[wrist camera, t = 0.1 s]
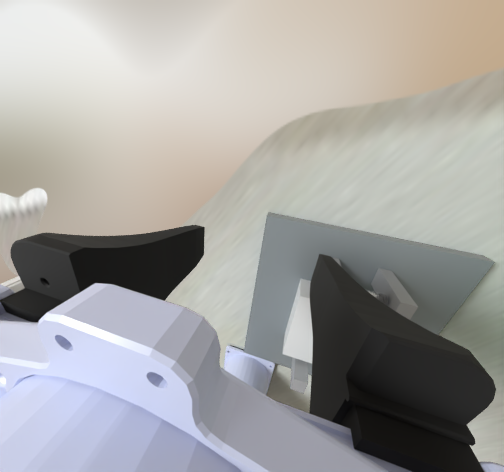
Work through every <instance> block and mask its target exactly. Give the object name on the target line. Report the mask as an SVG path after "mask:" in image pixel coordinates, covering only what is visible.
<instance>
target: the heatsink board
mask: <svg viewBox="0 0 504 472" xmlns="http://www.w3.org/2000/svg"><path fill="white" fill-rule="evenodd" d="M319 254H323V255H328V256H331V257H332V258H333V259H334V260H335V261H336V262H337V263H338V264H339V265H340V266H341V267H342V268H343V269H344V270H345V271H346V272H347V273H348V274H349V275H350V276H351V277H352V278H353V279H354V280H355V281H356V282H357V283H358V284H359V285H361V286H362V287H363V288H364V289H365V290H369V291H373V292H377V293H381V294H385V295H387V297H388V303H387V306H388V307H390V308H391V309H393V310H394V311H396V312H398V313H399V314H401V315H402V316H404V317H406V318H407V319H409V320H411V321H413V322H414V323H416V324H418V325H420V326H422V327H423V328H425V329H427V330H429V331H431V332H433V333H435V334H437V335H438V334H439V333H440V332H441V331H442V329H443V328H444V327H445V325H446V324H447V323H448V322H449V320H450V319H451V318H452V316H453V315H454V314H455V313H456V311H457V310H458V309H459V308H460V306H461V305H462V304H463V302H464V301H465V300H466V299H467V297H468V296H469V295H470V293H471V292H472V291H473V290H474V288H475V287H476V286H477V284H478V283H479V282H480V281H481V279H482V278H483V277H484V275H485V274H486V273H487V272H488V270H489V269H490V268H491V266H492V265H493V264H494V263H495V262H493V261H492V260H490V259H488V258H486V257H485V256H482V255H477V254H472V253H467V252H462V251H458V250H453V249H448V248H443V247H438V246H433V245H428V244H423V243H418V242H413V241H408V240H403V239H398V238H393V237H388V236H383V235H378V234H373V233H368V232H363V231H358V230H353V229H348V228H344V227H339V226H334V225H329V224H324V223H319V222H314V221H309V220H304V219H299V218H294V217H289V216H284V215H279V214H274V213H268V215H267V218H266V224H265V230H264V236H263V242H262V248H261V254H260V260H259V265H258V271H257V277H256V283H255V289H254V295H253V301H252V307H251V313H250V318H249V324H248V330H247V336H246V342H245V348H244V353H247V354H250V355H253V356H256V357H259V358H262V359H264V360H267V361H270V362H273V363H276V364H279V365H282V366H285V367H288V368H291V384H290V389H292V390H294V391H297V392H300V393H303V394H304V391H305V389H306V387H307V384H308V375H311V376H312V356H313V331H312V320H311V309H310V282H311V279H312V276H313V273H314V269H315V266H316V263H317V260H318V257H319Z"/></svg>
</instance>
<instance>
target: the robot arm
mask: <svg viewBox="0 0 504 472" xmlns="http://www.w3.org/2000/svg"><path fill="white" fill-rule="evenodd" d="M203 255H204V227H202V226H197V225H191V226H184V227H179V228H174V229H169V230H164V231H158V232H152V233H146V234H137V235H124V236H80V235H67V234H55V233H41V234H37V235H34V236H31V237H27V238H24V239H21V240H18V241H15V242H14V244H13V245H12V247H11V258H12V261H13V264H14V266H15V268H16V270H17V272H18V275H19V277H20V279H21V281H22V283H23V285H24V287H25V288H24V289H22V290H20V291H18V292H16V293H15V292H14V291H13V290H12V289H10V288H9V287H6V286H3V285H1V284H0V472H504V466H503V465H500V464H497V463H493V462H478V460H477V458H476V456H475V455H474V453H473V451H472V449H471V447H470V446H469V445H471V446H473V445H474V444H475V439H474V437H473V435H472V434H471V432H470V430H469V429H468V427H467V424H468V423H469V422H470V421H471V420H473V419H474V418H475V417H476V416H477V415H479V414H480V413H481V412H482V411H483V410H485V409H486V408H487V407H488V406H489V404H490V403H491V402H492V401H493V399H494V395H495V391H496V388H495V385H494V381H493V379H492V378H491V377H490V376H489V374H488V373H487V372H486V371H485V369H484V368H483V367H482V366H481V364H480V363H479V362H478V361H477V360H476V358H475V357H474V356H473V355H472V353H471V352H470V351H469V350H467V349H465V348H463V347H461V346H459V345H457V344H455V343H453V342H451V341H449V340H447V339H445V338H443V337H441V336H439V335H437V334H435V333H433V332H431V331H429V330H427V329H425V328H423V327H422V326H420V325H418V324H416V323H414V322H413V321H411V320H409V319H407V318H406V317H404V316H402V315H401V314H399V313H398V312H396V311H394V310H393V309H391V308H390V307H388V306H387V305H385V304H384V303H382V302H381V301H380V300H378V299H377V298H376V297H374V296H373V295H372V294H370V293H369V292H368V291H366V290H365V289H364V288H363V287H362V286H361V285H359V284H358V283H357V282H356V281H355V280H354V279H353V278H352V277H351V276H350V275H349V274H348V273H347V272H346V271H345V270H344V269H343V268H342V267H341V266H340V265H339V264H338V263H337V262H336V261H335V260H334V259H333V258H332V257H331V256H328V255H323V254H319V257H318V260H317V263H316V266H315V269H314V273H313V276H312V279H311V282H310V309H311V320H312V331H313V356H312V382H311V401H310V414H309V413H307V412H304V411H301V410H299V409H296V408H293V407H291V406H288V405H286V404H283V403H280V402H278V401H275V400H272V399H271V398H269V397H268V396H266V395H267V391H268V388H269V384H270V381H271V377H272V374H273V370H274V367H275V363H273V362H270V361H267V360H264V359H262V358H259V357H256V356H253V355H250V354H247V353H244V350H241V349H238V348H235V347H232V346H227V348H226V354H225V363H224V369H222V368H221V367H220V365H219V359H220V344H219V340H218V336H217V333H216V331H215V329H214V328H213V327H212V326H211V325H210V324H209V322H208V321H207V320H206V319H205V318H204V317H203V316H201V315H199V314H198V313H196V312H194V311H192V310H190V309H188V308H186V307H183V306H180V305H176V304H173V303H170V302H167V301H165V299H166V298H167V297H168V295H169V294H170V293H171V292H172V291H173V290H174V289H175V288H176V287H177V286H178V284H179V283H180V282H181V281H182V280H183V279H184V278H185V277H186V276H187V275H188V274H189V273H190V272H191V271H192V270H193V269H194V268H195V267H196V265H197V264H198V263H199V261H200V260H201V258H202V257H203Z"/></svg>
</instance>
